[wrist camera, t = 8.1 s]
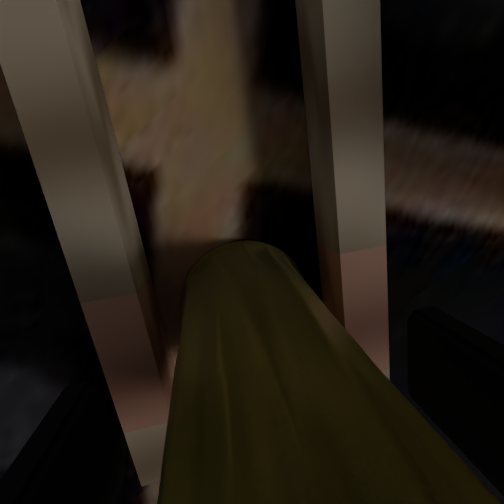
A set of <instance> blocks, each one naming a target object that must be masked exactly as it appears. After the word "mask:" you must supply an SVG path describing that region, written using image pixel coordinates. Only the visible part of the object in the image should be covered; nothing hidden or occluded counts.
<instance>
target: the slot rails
mask: <svg viewBox="0 0 504 504" xmlns="http://www.w3.org/2000/svg"><path fill="white" fill-rule="evenodd" d="M295 3H296V14H297V25H298V36H299V47H300V58H301V69H302V80H303V91H304V102H305V113H306V124H307V135H308V146H309V157H310V168H311V179H312V190H313V202H314V213H315V224H316V235H317V246H318V257H319V268H320V279H321V290H322V301H323V303H324V305H325V306H326V307H327V309H328V310H329V311H330V312H331V313H332V315H333V316H334V317H335V318H336V319H337V320H338V322H339V323H340V324H341V325H342V326H343V327H344V328H345V329H346V330H347V332H348V333H349V334H350V335H351V336H352V337H353V338H354V339H355V340H356V342H357V343H358V344H359V345H360V347H361V348H362V349H363V350H364V351H365V353H366V354H367V355H368V356H369V358H370V359H371V360H372V361H373V362H374V363H375V365H376V366H377V367H378V368H379V369H380V370H381V371H382V373H383V374H384V375H385V376H386V377H387V378H388V379H389V380H390V375H389V335H388V296H387V256H386V216H385V177H384V137H383V98H382V58H381V19H380V0H295ZM0 64H1V67H2V70H3V73H4V76H5V79H6V82H7V85H8V88H9V91H10V94H11V97H12V100H13V103H14V106H15V109H16V112H17V115H18V118H19V121H20V124H21V127H22V130H23V133H24V136H25V139H26V142H27V145H28V148H29V151H30V154H31V157H32V160H33V163H34V166H35V169H36V172H37V175H38V178H39V181H40V184H41V187H42V190H43V193H44V196H45V199H46V202H47V205H48V208H49V211H50V214H51V217H52V220H53V223H54V226H55V229H56V232H57V235H58V238H59V241H60V244H61V247H62V250H63V253H64V256H65V259H66V262H67V265H68V268H69V271H70V274H71V277H72V280H73V283H74V286H75V289H76V292H77V295H78V298H79V301H80V304H81V307H82V309H83V312H84V315H85V318H86V321H87V324H88V327H89V330H90V333H91V336H92V339H93V342H94V345H95V348H96V351H97V354H98V357H99V360H100V363H101V366H102V369H103V372H104V375H105V378H106V381H107V384H108V387H109V390H110V393H111V396H112V399H113V402H114V405H115V408H116V411H117V414H118V417H119V420H120V423H121V426H122V429H123V432H124V435H125V438H126V441H127V444H128V447H129V450H130V453H131V456H132V459H133V462H134V465H135V468H136V471H137V474H138V477H139V480H140V483H141V486H145V485H149V484H152V483H156V482H160V478H161V469H162V460H163V452H164V445H165V437H166V429H167V422H168V415H169V407H170V400H171V392H172V384H173V377H174V371H175V368H174V364H173V361H172V357H171V353H170V349H169V345H168V341H167V337H166V333H165V329H164V326H163V322H162V318H161V314H160V310H159V306H158V302H157V298H156V294H155V290H154V287H153V283H152V279H151V275H150V271H149V267H148V263H147V259H146V255H145V251H144V248H143V244H142V240H141V236H140V232H139V228H138V224H137V220H136V216H135V213H134V209H133V205H132V201H131V197H130V193H129V189H128V185H127V181H126V177H125V174H124V170H123V166H122V162H121V158H120V154H119V150H118V146H117V142H116V139H115V135H114V131H113V127H112V123H111V119H110V115H109V111H108V107H107V103H106V100H105V96H104V92H103V88H102V84H101V80H100V76H99V72H98V68H97V64H96V61H95V57H94V53H93V49H92V45H91V41H90V37H89V33H88V29H87V26H86V22H85V18H84V14H83V10H82V6H81V2H80V0H0Z"/></svg>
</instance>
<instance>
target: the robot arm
mask: <svg viewBox="0 0 504 504" xmlns="http://www.w3.org/2000/svg"><path fill="white" fill-rule="evenodd" d="M407 323H408V390H409V393H410V395H411V397H412V399H413V400H414V401H415V402H416V403H417V404H418V405H419V406H420V407H421V409H422V410H423V411H424V412H425V413H426V414H427V415H428V416H429V417H430V418H431V419H432V420H433V421H434V422H435V423H436V424H437V426H438V427H439V428H440V429H441V430H442V431H443V432H444V433H445V434H446V435H447V436H448V437H449V438H450V439H451V440H452V442H453V443H454V444H455V445H456V446H457V447H458V448H459V449H460V450H461V451H462V452H463V453H464V454H465V455H466V456H467V458H468V459H469V460H470V461H471V462H472V463H473V464H474V465H475V466H476V467H477V468H478V469H479V470H480V471H481V472H482V473H483V475H484V476H485V477H486V478H487V479H488V480H489V481H490V482H491V483H492V484H493V485H494V486H495V487H496V488H497V489H498V491H499V492H500V493H501V494H502V495H503V496H504V345H503V344H501V343H499V342H497V341H495V340H494V339H492V338H490V337H488V336H486V335H485V334H483V333H481V332H479V331H477V330H475V329H474V328H472V327H470V326H468V325H466V324H465V323H463V322H461V321H459V320H457V319H456V318H454V317H452V316H450V315H448V314H447V313H445V312H443V311H441V310H439V309H438V308H436V307H433V306H432V307H426V308H421V309H417V310H414V311H412V313H411V316H409V317H408V321H407ZM124 473H125V458H124V455H123V452H122V449H121V446H120V443H119V440H118V437H117V434H116V431H115V429H114V426H113V423H112V420H111V417H110V414H109V411H108V408H107V405H106V402H105V399H104V397H103V394H102V391H101V388H100V387H99V386H98V385H95V386H94V384H93V383H92V382H90V381H88V382H83V383H79V384H74V385H70V386H67V387H65V389H64V390H63V391H62V392H61V394H60V395H59V397H58V398H57V400H56V401H55V403H54V404H53V405H52V407H51V408H50V410H49V411H48V413H47V414H46V415H45V417H44V418H43V420H42V421H41V423H40V424H39V426H38V427H37V428H36V430H35V431H34V433H33V434H32V436H31V437H30V438H29V440H28V441H27V443H26V444H25V446H24V447H23V449H22V450H21V451H20V453H19V454H18V456H17V457H16V459H15V460H14V462H13V463H12V464H11V466H10V467H9V469H8V470H7V472H6V473H5V474H4V476H3V477H2V479H1V480H0V504H116V502H117V498H118V495H119V491H120V488H121V484H122V481H123V477H124Z"/></svg>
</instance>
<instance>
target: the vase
mask: <svg viewBox="0 0 504 504" xmlns="http://www.w3.org/2000/svg"><path fill="white" fill-rule="evenodd" d="M180 310H181V316H182V328H181V337H180V343H179V349H178V355H177V360H176V365H175V371H174V377H173V384H172V392H171V400H170V407H169V415H168V422H167V429H166V437H165V445H164V452H163V460H162V469H161V478H160V487H159V496H158V502H157V504H501V503H500V502H499V501H498V500H497V499H496V498H495V496H494V495H493V494H492V493H491V492H490V491H489V490H488V489H487V488H486V486H485V485H484V484H483V483H482V482H481V481H480V480H479V479H478V478H477V476H476V475H475V474H474V473H473V472H472V471H471V470H470V469H469V467H468V466H467V465H466V464H465V463H464V462H463V461H462V460H461V458H460V457H459V456H458V455H457V454H456V453H455V452H454V451H453V450H452V448H451V447H450V446H449V445H448V444H447V443H446V442H445V441H444V440H443V438H442V437H441V436H440V435H439V434H438V433H437V432H436V431H435V430H434V428H433V427H432V426H431V425H430V424H429V423H428V422H427V421H426V420H425V419H424V417H423V416H422V415H421V414H420V413H419V412H418V411H417V410H416V409H415V408H414V406H413V405H412V404H411V403H410V402H409V401H408V400H407V399H406V398H405V397H404V396H403V394H402V393H401V392H400V391H399V390H398V389H397V388H396V387H395V386H394V385H393V384H392V383H391V381H390V380H389V379H388V378H387V377H386V376H385V375H384V374H383V373H382V371H381V370H380V369H379V368H378V367H377V366H376V365H375V363H374V362H373V361H372V360H371V359H370V358H369V356H368V355H367V354H366V353H365V351H364V350H363V349H362V348H361V347H360V345H359V344H358V343H357V342H356V340H355V339H354V338H353V337H352V336H351V335H350V334H349V333H348V332H347V330H346V329H345V328H344V327H343V326H342V325H341V324H340V323H339V322H338V320H337V319H336V318H335V317H334V316H333V315H332V313H331V312H330V311H329V310H328V309H327V307H326V306H325V305H324V303H323V302H322V301H321V300H320V298H319V297H318V296H317V295H316V294H315V292H314V291H313V290H312V289H311V288H310V287H309V285H308V284H307V283H306V281H305V280H304V277H303V275H302V273H301V272H300V270H299V268H298V267H297V265H296V264H295V263H294V261H293V260H292V259H291V258H290V257H289V256H288V255H287V254H285V253H284V252H283V251H281V250H280V249H278V248H276V247H274V246H272V245H269V244H266V243H263V242H258V241H249V240H245V241H236V242H231V243H228V244H224V245H222V246H219V247H217V248H215V249H213V250H211V251H210V252H208V253H207V254H206V255H204V256H203V257H202V258H201V259H200V260H199V261H198V262H197V263H196V264H195V265H194V267H193V268H192V269H191V271H190V272H189V273H188V275H187V277H186V279H185V282H184V285H183V290H182V295H181V303H180Z"/></svg>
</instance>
